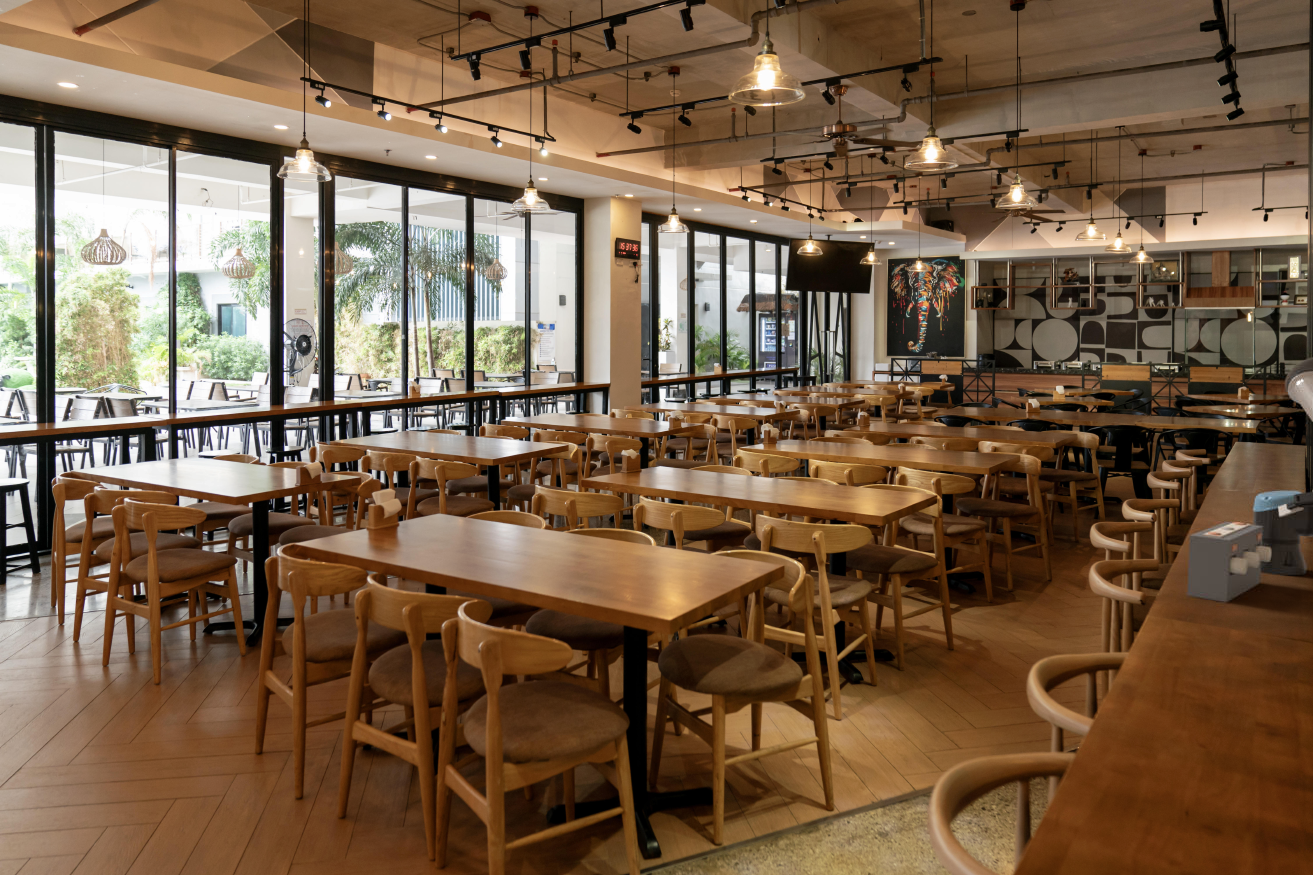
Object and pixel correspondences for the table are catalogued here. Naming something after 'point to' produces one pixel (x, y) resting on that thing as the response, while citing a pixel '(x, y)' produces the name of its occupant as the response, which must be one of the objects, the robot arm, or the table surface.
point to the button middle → (1252, 558)
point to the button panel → (1222, 561)
